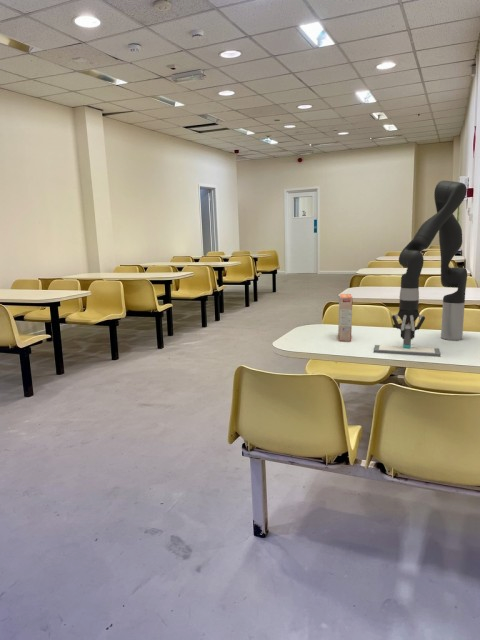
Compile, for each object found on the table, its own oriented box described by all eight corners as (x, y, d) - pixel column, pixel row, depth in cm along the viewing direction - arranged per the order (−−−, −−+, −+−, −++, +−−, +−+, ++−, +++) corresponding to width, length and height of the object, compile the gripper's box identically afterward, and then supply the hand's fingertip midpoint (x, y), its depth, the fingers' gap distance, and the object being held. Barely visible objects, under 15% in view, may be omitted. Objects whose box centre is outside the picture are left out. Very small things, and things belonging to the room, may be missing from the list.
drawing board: (375, 347, 206) (375, 344, 206) (438, 350, 197) (439, 348, 197) (373, 352, 197) (373, 349, 197) (440, 356, 188) (440, 353, 188)
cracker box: (352, 341, 218) (353, 297, 214) (338, 341, 219) (339, 297, 215) (350, 335, 231) (351, 293, 228) (338, 335, 232) (338, 293, 229)
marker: (403, 346, 201) (404, 323, 199) (410, 347, 200) (411, 324, 198) (403, 348, 198) (404, 325, 196) (410, 348, 197) (411, 325, 195)
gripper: (426, 297, 196) (424, 338, 199) (391, 297, 201) (390, 336, 204) (427, 300, 189) (425, 341, 192) (391, 299, 194) (389, 339, 197)
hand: (407, 338), depth 198 cm, fingers closed on marker, 3 cm apart
